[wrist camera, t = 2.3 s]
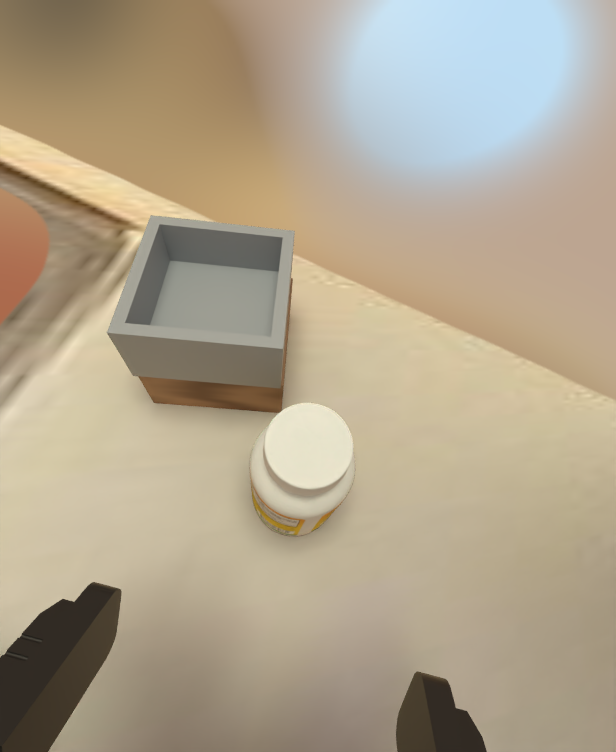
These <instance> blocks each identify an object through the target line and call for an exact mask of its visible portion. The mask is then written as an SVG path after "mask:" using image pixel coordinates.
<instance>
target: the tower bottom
mask: <svg viewBox="0 0 616 752" xmlns="http://www.w3.org/2000/svg"><path fill="white" fill-rule="evenodd" d="M292 281H293V278H291V284H290V295H289V305H288V316H287V326H286V336H285V347H284V357H283V368H282V378H281V389H280V388H269V387H257V386H245V385H234V384H222V383H211V382H199V381H188V380H176V379H165V378H153V377H142V376H139V378H140V380H141V382H142V383H143V385H144V387H145V388H146V390H147V392H148V393H149V395H150V397H151V399H152V400H153V402H154V403H163V404H175V405H188V406H200V407H213V408H225V409H238V410H251V411H263V412H276V413H280V412H281V409H282V397H283V386H284V374H285V363H286V351H287V340H288V328H289V317H290V305H291V293H292Z"/></svg>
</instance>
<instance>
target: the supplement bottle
mask: <svg viewBox="0 0 616 752" xmlns="http://www.w3.org/2000/svg"><path fill="white" fill-rule="evenodd" d="M354 476H355V456H354V452H353V439H352V435H351V432H350V430H349V428H348V426H347V424H346V423H345V421H344V420H343V419H342V418H341V417H340V416H339V415H338V414H337V413H336V412H334V411H333V410H331V409H330V408H328V407H325V406H323V405H320V404H315V403H299V404H295V405H292V406H289V407H287V408H285V409H284V410H282V411H281V412H280V413H278V414H277V415H276V416H275V417H274V418H273V420H272V421H271V422H270V424H269V425H268V426H267V427H266V428H265V429H264V430H263V431H262V432H261V434H260V435H259V436H258V438H257V440H256V441H255V443H254V446H253V448H252V452H251V457H250V478H251V488H252V497H253V503H254V507H255V509H256V512H257V514H258V516H259V517H260V519H261V520H262V521H263V522H264V524H266V525H267V526H268V527H269V528H270V529H272V530H274V531H275V532H277V533H280V534H283V535H287V536H300V535H305V534H308V533H310V532H312V531H314V530H316V529H317V528H319V527H320V526H321V525H322V524H323V523H324V522H325V521H326V520H327V519H328V517H329V516H330V515H331V514H332V513H333V512H334V510H335V509H336V508H337V507H338V506H339V505H340V504H341V503H342V501H343V500H344V499H345V497H346V496H347V494H348V492H349V491H350V489H351V486H352V484H353V480H354Z"/></svg>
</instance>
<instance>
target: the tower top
mask: <svg viewBox="0 0 616 752" xmlns="http://www.w3.org/2000/svg"><path fill="white" fill-rule="evenodd" d="M293 246H294V231H290V230H281V229H272V228H261V227H252V226H243V225H235V224H225V223H217V222H207V221H198V220H189V219H180V218H171V217H162V216H152V215H151V216H150V219H149V222H148V224H147V227H146V230H145V232H144V235H143V238H142V240H141V243H140V246H139V248H138V251H137V254H136V256H135V259H134V262H133V264H132V267H131V270H130V273H129V275H128V278H127V281H126V283H125V286H124V289H123V291H122V294H121V297H120V299H119V302H118V305H117V307H116V310H115V313H114V315H113V318H112V321H111V323H110V326H109V329H108V331H107V333H108V335H109V337H110V338H111V340H112V342H113V343H114V345H115V347H116V348H117V350H118V352H119V353H120V355H121V356H122V358H123V360H124V361H125V363H126V365H127V366H128V368H129V370H130V371H131V373H132V375H133V376H142V377H153V378H165V379H176V380H188V381H199V382H211V383H222V384H234V385H245V386H257V387H269V388H280V389H281V378H282V368H283V357H284V347H285V336H286V326H287V316H288V305H289V295H290V284H291V272H292V259H293Z"/></svg>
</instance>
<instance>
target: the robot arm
mask: <svg viewBox="0 0 616 752" xmlns="http://www.w3.org/2000/svg"><path fill="white" fill-rule="evenodd" d="M120 601H121V590H120V589H118V588H114V587H110V586H107V585H103V584H99V583H96V582H93V583H91V584H90V585H88V586H87V588H86V589H85V590H84V591H83V592H82V593H81V595H80V596H79V597H78V598H77V600H76V601H75V602H72V601H69V600H65V599H62V600H60V601H59V602H57V603H56V604H54V605H53V606H51V607H50V608H48V609H46V610H45V611H43V612H42V613H40V614H39V615H38V616H37V618H36V619H35V620H34V621H33V622H32V623H31V624H30V625H29V626H28V628H27V629H26V630H25V631H24V632H23V633H22V635H21V637H20V638H18V639H17V640H16V641H15V642H14V643H13V644H12V645H11V646H10V647H9V649H8V650H7V652H6V653H5V655H2V656H1V657H0V752H48V751H49V749H50V747H51V746H52V744H53V743H54V741H55V739H56V738H57V736H58V735H59V733H60V731H61V730H62V728H63V727H64V725H65V723H66V722H67V720H68V719H69V717H70V715H71V714H72V712H73V711H74V709H75V708H76V706H77V704H78V703H79V701H80V700H81V698H82V696H83V695H84V693H85V692H86V690H87V688H88V687H89V685H90V684H91V682H92V680H93V679H94V677H95V676H96V674H97V672H98V671H99V669H100V668H101V666H102V664H103V663H104V661H105V659H106V658H107V656H108V654H109V652H110V650H111V647H112V645H113V642H114V640H115V636H116V632H117V625H118V617H119V609H120ZM396 741H397V751H398V752H486V748H485V745H484V741H483V738H482V736H481V734H480V733H479V731H478V729H477V727H476V726H475V724H474V722H473V721H472V719H471V717H470V715H469V714H468V712H467V711H464V710H460V709H457V708H456V707H455V704H454V700H453V696H452V692H451V688H450V685H449V683H448V681H447V680H446V679H443V678H440V677H436V676H432V675H429V674H425V673H421V672H416V673H415V674H414V676H413V679H412V681H411V684H410V686H409V688H408V691H407V693H406V696H405V698H404V701H403V703H402V706H401V708H400V711H399V714H398V719H397V729H396Z"/></svg>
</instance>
